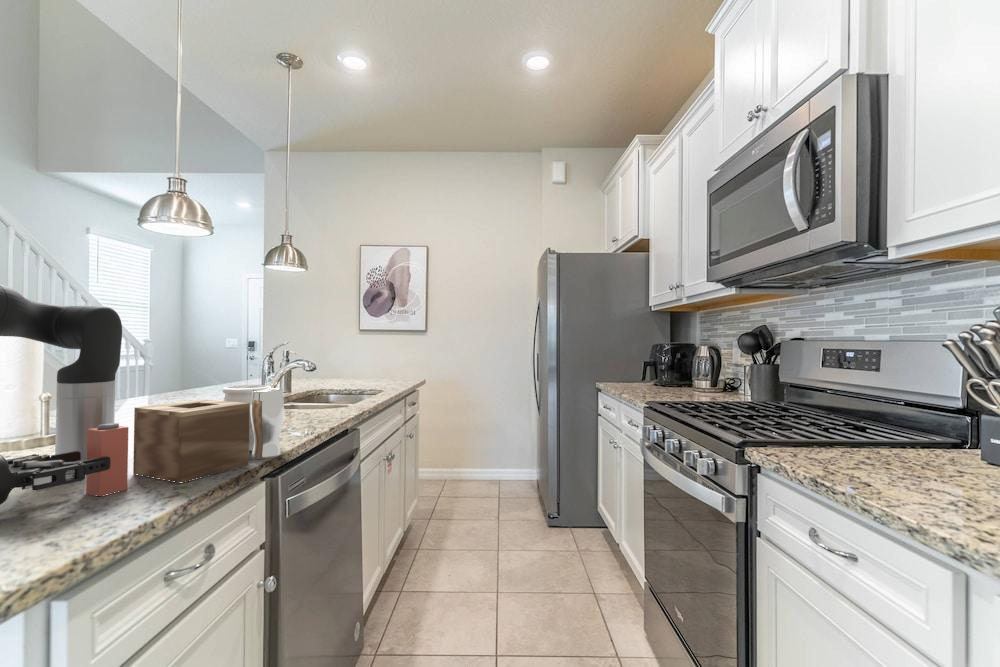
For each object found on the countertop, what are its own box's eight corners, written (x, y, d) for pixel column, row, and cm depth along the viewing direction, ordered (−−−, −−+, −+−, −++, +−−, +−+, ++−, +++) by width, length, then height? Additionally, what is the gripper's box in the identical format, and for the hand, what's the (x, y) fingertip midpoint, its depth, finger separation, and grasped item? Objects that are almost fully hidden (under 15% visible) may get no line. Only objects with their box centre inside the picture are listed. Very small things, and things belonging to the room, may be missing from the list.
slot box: (133, 474, 90) (134, 407, 90) (203, 457, 103) (204, 399, 103) (181, 483, 84) (182, 412, 85) (248, 464, 97) (249, 403, 97)
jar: (234, 444, 116) (235, 384, 116) (276, 443, 117) (277, 384, 118) (212, 454, 106) (213, 389, 106) (259, 453, 107) (260, 388, 107)
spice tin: (86, 494, 78) (87, 425, 79) (113, 487, 82) (114, 421, 82) (100, 497, 77) (101, 427, 77) (127, 490, 81) (128, 423, 81)
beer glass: (269, 460, 101) (270, 391, 101) (241, 458, 102) (242, 390, 102) (289, 453, 108) (290, 388, 108) (263, 451, 109) (264, 387, 109)
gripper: (-22, 466, 60) (120, 441, 75) (-72, 455, 66) (70, 433, 81) (-23, 524, 60) (119, 487, 75) (-73, 508, 66) (69, 476, 81)
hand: (93, 459), depth 78 cm, fingers open, 8 cm apart
